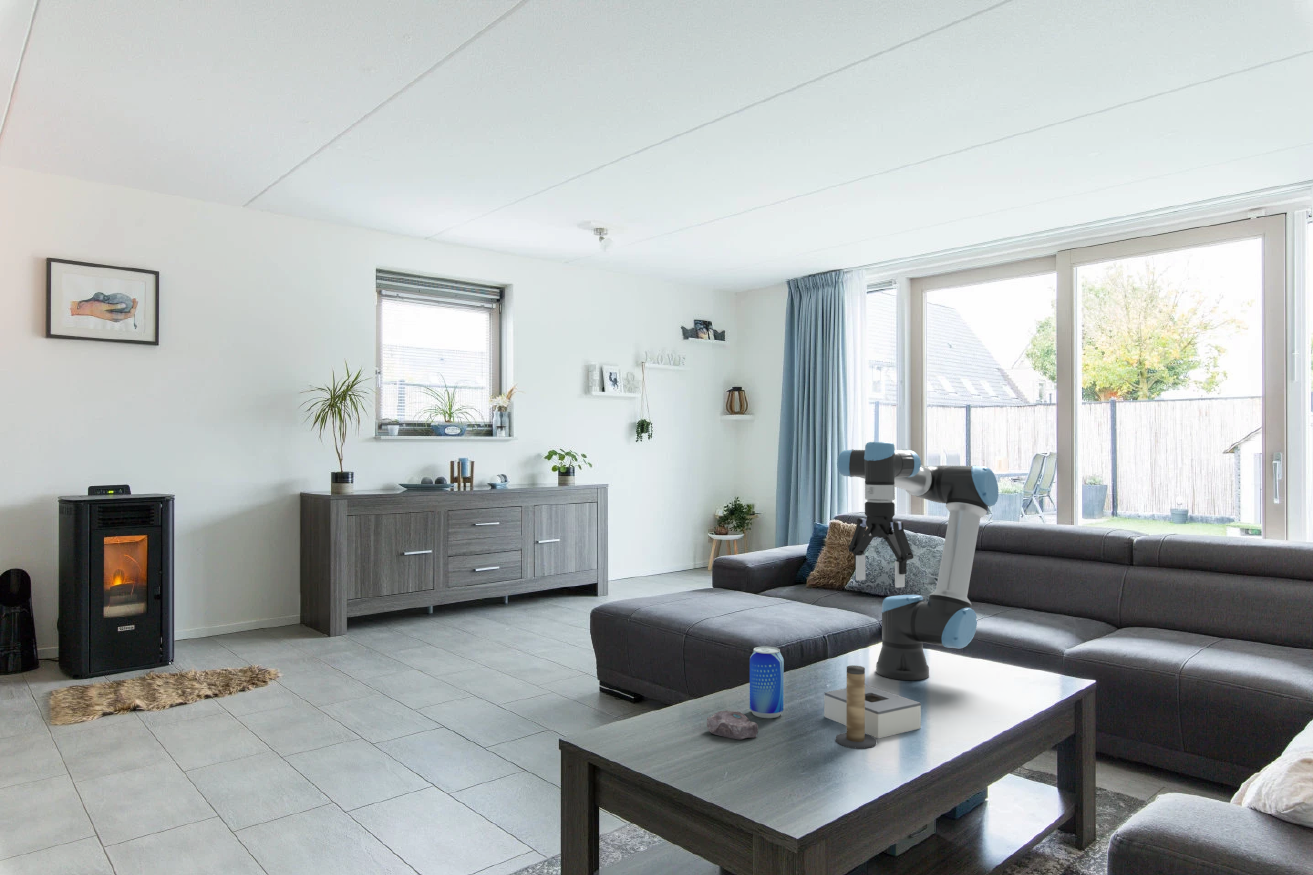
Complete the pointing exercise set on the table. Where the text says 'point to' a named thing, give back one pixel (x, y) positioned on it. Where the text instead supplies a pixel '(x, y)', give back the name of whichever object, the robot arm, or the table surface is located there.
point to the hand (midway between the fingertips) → (879, 583)
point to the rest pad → (864, 744)
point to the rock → (732, 725)
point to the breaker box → (877, 711)
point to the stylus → (855, 703)
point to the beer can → (766, 682)
